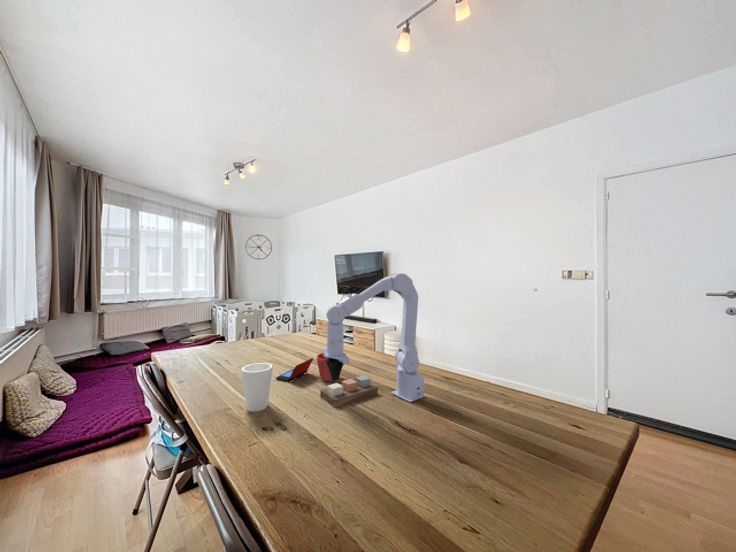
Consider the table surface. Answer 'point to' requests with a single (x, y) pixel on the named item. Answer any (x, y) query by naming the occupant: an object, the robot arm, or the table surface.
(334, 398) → the key frame
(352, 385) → the terracotta key
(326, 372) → the flower pot
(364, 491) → the table surface
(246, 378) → the foam cup
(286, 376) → the handheld game console
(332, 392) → the ivory key
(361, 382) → the slate key
